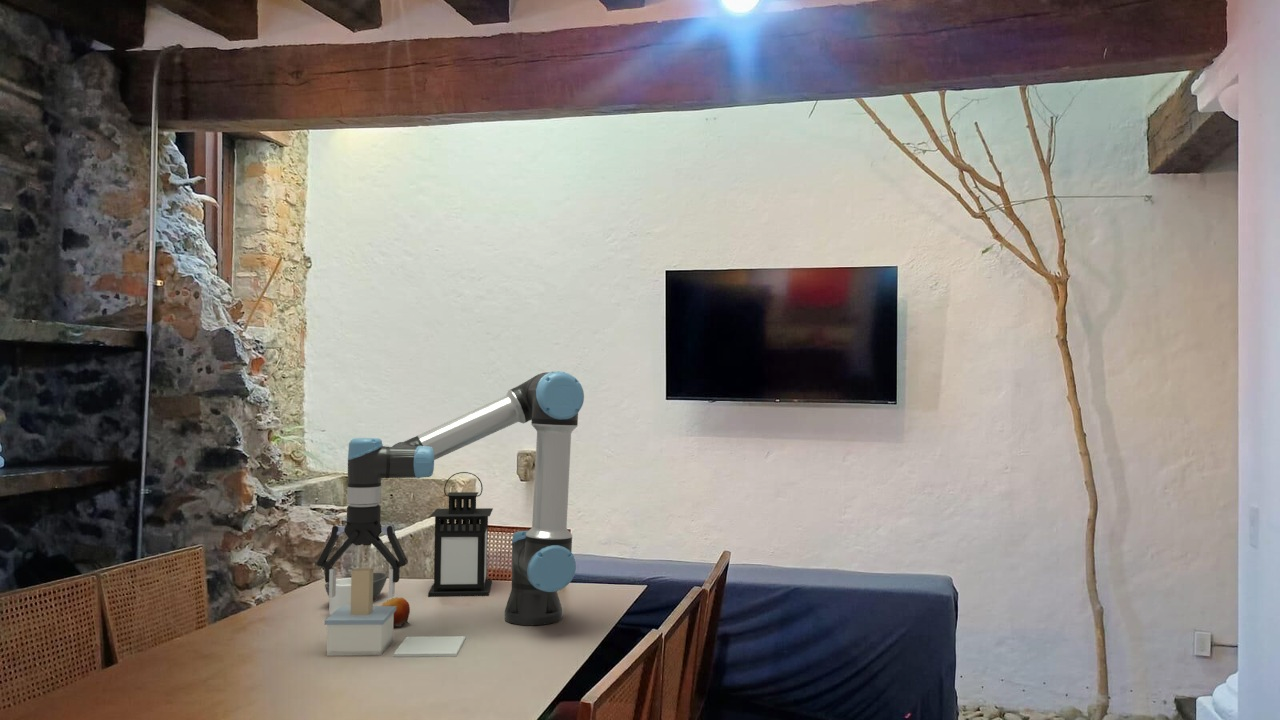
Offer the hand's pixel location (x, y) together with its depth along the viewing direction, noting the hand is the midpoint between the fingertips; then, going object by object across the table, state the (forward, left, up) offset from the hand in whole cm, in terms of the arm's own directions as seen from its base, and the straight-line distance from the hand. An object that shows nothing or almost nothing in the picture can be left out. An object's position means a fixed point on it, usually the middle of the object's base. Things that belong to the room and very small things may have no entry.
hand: (362, 596), depth 204 cm
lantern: (-14, -60, -12) cm, 63 cm away
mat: (-16, 0, -12) cm, 20 cm away
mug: (+10, -29, -12) cm, 33 cm away
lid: (0, 0, -5) cm, 5 cm away
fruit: (-3, -20, -12) cm, 24 cm away
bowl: (+13, -45, -12) cm, 48 cm away
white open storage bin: (0, 0, -12) cm, 12 cm away
